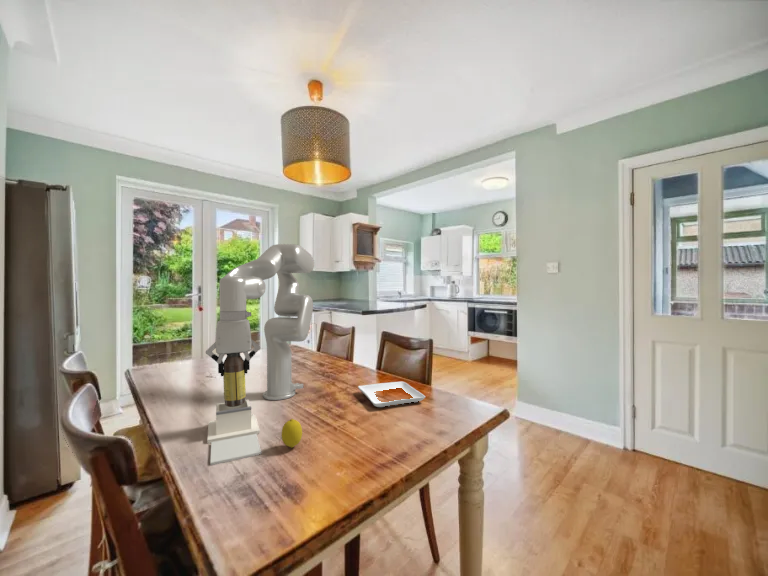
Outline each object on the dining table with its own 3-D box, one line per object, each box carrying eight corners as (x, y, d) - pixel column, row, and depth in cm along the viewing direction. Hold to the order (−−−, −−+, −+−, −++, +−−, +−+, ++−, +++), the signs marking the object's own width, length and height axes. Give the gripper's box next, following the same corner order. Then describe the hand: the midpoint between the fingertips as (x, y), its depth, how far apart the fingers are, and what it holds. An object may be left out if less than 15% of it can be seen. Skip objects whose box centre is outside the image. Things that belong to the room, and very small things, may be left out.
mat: (256, 435, 99) (256, 433, 99) (261, 454, 88) (261, 452, 88) (211, 444, 93) (211, 442, 93) (210, 465, 83) (210, 462, 83)
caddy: (255, 416, 113) (255, 394, 112) (259, 433, 100) (259, 408, 100) (208, 424, 106) (208, 401, 106) (207, 443, 94) (207, 416, 94)
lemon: (294, 441, 95) (294, 413, 95) (306, 447, 92) (306, 418, 92) (277, 448, 91) (277, 419, 91) (289, 454, 88) (289, 425, 88)
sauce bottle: (244, 398, 108) (244, 338, 107) (247, 405, 103) (246, 341, 102) (222, 402, 105) (222, 339, 104) (224, 409, 99) (223, 343, 99)
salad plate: (426, 404, 125) (427, 395, 125) (374, 412, 118) (374, 403, 118) (403, 388, 145) (403, 380, 145) (357, 394, 137) (357, 385, 137)
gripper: (261, 314, 110) (261, 367, 111) (202, 316, 102) (203, 374, 103) (264, 316, 103) (264, 373, 104) (201, 319, 96) (202, 381, 96)
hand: (234, 373), depth 103 cm, fingers closed on sauce bottle, 6 cm apart
